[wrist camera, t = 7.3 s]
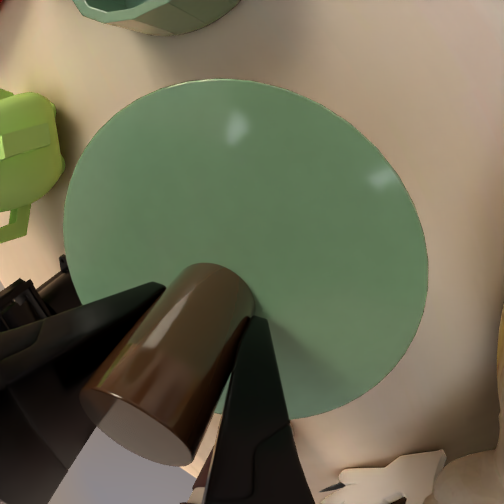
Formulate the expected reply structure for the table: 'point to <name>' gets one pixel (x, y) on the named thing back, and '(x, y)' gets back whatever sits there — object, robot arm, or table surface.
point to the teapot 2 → (26, 157)
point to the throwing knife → (334, 487)
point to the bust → (472, 478)
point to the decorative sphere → (501, 364)
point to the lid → (239, 256)
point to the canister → (156, 14)
